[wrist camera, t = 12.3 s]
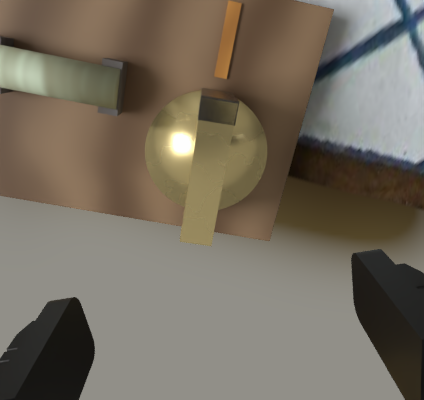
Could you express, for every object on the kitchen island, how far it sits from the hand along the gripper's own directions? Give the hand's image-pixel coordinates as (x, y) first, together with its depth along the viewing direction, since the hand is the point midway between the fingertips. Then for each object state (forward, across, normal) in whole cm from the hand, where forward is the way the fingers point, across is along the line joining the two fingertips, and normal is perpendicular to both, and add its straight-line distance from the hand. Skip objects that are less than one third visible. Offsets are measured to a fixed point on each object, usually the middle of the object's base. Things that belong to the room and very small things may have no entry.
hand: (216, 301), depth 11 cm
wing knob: (+16, 0, -1) cm, 16 cm away
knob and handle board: (+18, +4, -5) cm, 19 cm away
